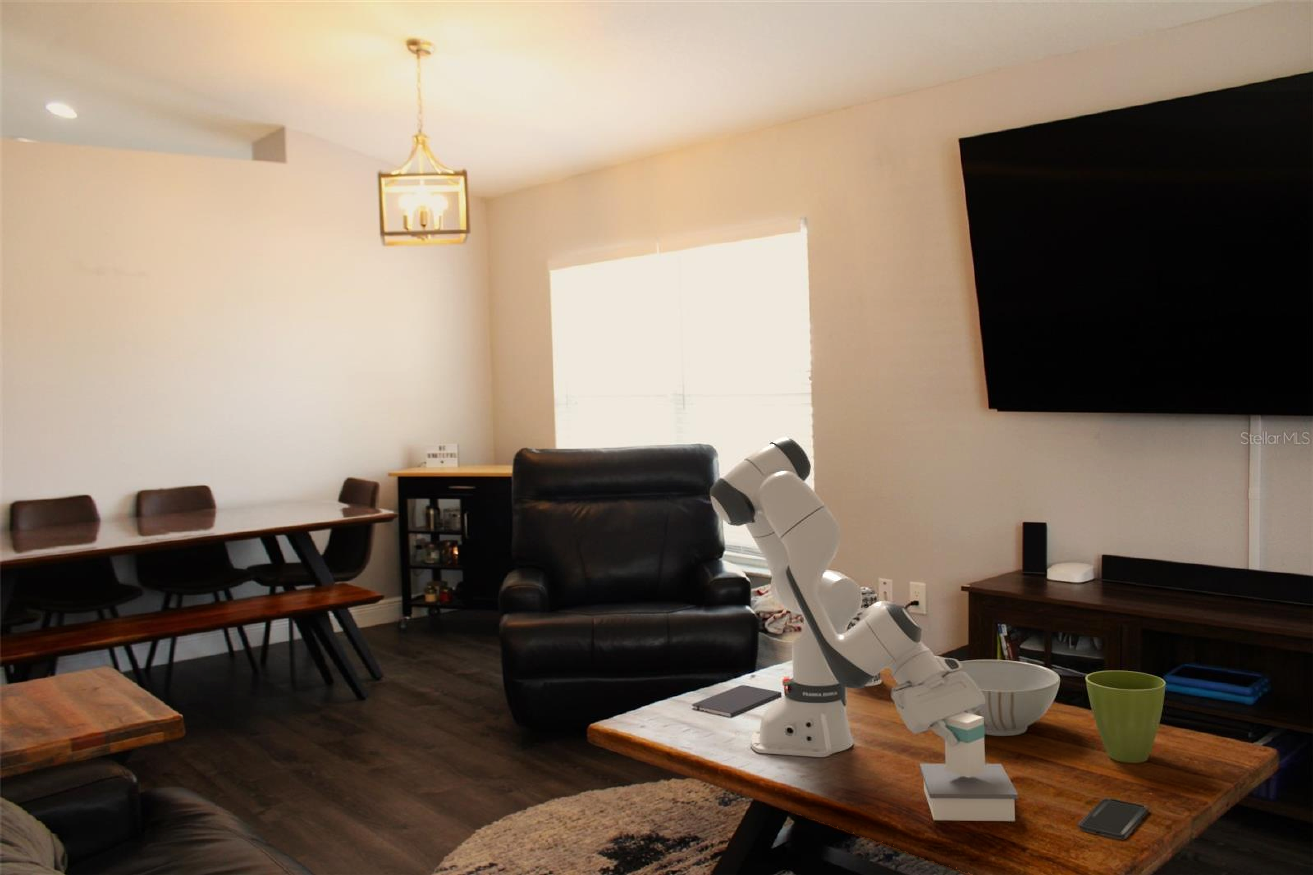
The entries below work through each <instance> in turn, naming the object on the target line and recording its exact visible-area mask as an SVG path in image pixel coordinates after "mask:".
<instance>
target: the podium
mask: <svg viewBox="0 0 1313 875" xmlns="http://www.w3.org/2000/svg"><path fill="white" fill-rule="evenodd" d="M919 769H920V773H921V775H922V778H923V791H924V794H925V797H926V800H927V803H928V806H929V809H930V813H931V816H932V818H933V821H968V822H969V821H972V822H973V821H974V822H975V821H976V822H977V821H978V822H979V821H980V822H981V821H983V822H987V821H988V822H989V821H990V822H992V821H993V822H994V821H995V822H1016V818H1015V817H1016V815H1015V814H1016V811H1015V809H1016V808H1015V800H1019V794H1018V792H1017V790H1016V788H1015V786H1014V785H1013V783H1012V781H1011V779H1010V777H1009V775H1008V774H1007V772H1006V770H1005V768H1004V766H1003V765H1002V763H985V771H984V772H981V773H979V774H977V775H974V776H972V777H970V778H968V777H965V776H961V775H958V774H955V773H952V772H948V771H946V763H919Z"/></svg>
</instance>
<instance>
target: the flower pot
mask: <svg viewBox="0 0 1313 875" xmlns="http://www.w3.org/2000/svg"><path fill="white" fill-rule="evenodd" d="M1085 683H1086V690H1087V694H1088V699H1089V703H1090V707H1091V710H1092V715H1093V718H1094V722H1095V725H1096V728H1097V731H1098V733H1099V737H1100V739H1101V742H1102V744H1103V746H1104V748H1105V752H1106V754H1107V756H1108V758H1110V759H1112V760H1114V761H1117V762H1121V763H1130V764H1134V763H1135V764H1136V763H1137V764H1138V763H1144V762H1146V761H1147V760H1148V759H1149V755H1150V754H1151V751H1152V748H1153V746H1154V743H1155V739H1156V737H1157V734H1158V729H1159V725H1160V722H1161V717H1162V712H1163V706H1164V700H1165V695H1166V694H1165V691H1166V684H1167V683H1166V681H1165V680H1164V679H1163V678H1161V677H1159V676H1156V675H1153V674H1148V673H1145V672H1138V671H1130V670H1129V671H1128V670H1101V671H1096V672H1095V671H1094V672H1092V673H1089V674H1087V675H1085Z"/></svg>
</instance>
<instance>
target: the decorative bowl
mask: <svg viewBox="0 0 1313 875" xmlns="http://www.w3.org/2000/svg"><path fill="white" fill-rule="evenodd" d="M959 662H960V663H961V665H962V668H961V670H960V671H963V672H965V673H967V674H968V675H969V676H970V677H971V679H972V680H973V681H974V682H975V684H976V685H977V686H978V688H979V689H980V691H981V692H982V693H983V695H984V697H985V704H984V705H983V706H982V707H981V708H980V709H979V710H978V711H977V712H975V713H974V714H975V715H977V716H981V717H984V735H989V736H996V737H1000V736H1001V737H1007V736H1009V737H1012V736H1017V735H1022V734H1024V733H1025V732H1026V731H1027V730H1028V726H1030V725H1033V724H1034V723H1036V722H1037V721H1038V720H1040V719H1041V718H1042V717H1043V716H1044V715H1045V714H1046V713H1047V711H1048V710H1049V709H1050V708H1051V706H1052V705H1053V702H1054V701H1055V699H1056V696H1057V694H1058V691H1059V688H1060V683H1061V678H1060V675H1059V674H1058V673H1056V672H1055V670H1052V669H1050V668H1048V667H1044V666H1041V665H1038V664H1034V663H1029V662H1023V661H1014V660H1007V659H1005V660H1003V659H971V660H963V661H961V660H960V661H959Z"/></svg>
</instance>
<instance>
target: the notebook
mask: <svg viewBox="0 0 1313 875" xmlns="http://www.w3.org/2000/svg"><path fill="white" fill-rule="evenodd" d="M782 696H783V695H782V691H777V690H771V689H766V688H761V687H755V686H750V685H745V684H742V685H741V684H740V685H738V686H736V687H732V688H730V689H728V690H725V691H723V692H720V693H717V694H714V695H713V696H709V697H707V698H705V699H702V700H699V701H697V702H694V703H692V705H691V706H692V709H693V708H695V709H694V710H696V709H697V711H701V710H704V711H703V712H705V711H708V712H707V713H710V712H711V714H716V715H719V714H721V715H720V716H724V715H725V716H724V717H729V718H733V717H735V716H738V715H740V714H743V713H745V712H747V711H750V710H752V709H755V708H757V707H760V706H761V705H764V704H766V703H768V702H771V701H774V700H776V699H779V698H780V697H781V698H782Z"/></svg>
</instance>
